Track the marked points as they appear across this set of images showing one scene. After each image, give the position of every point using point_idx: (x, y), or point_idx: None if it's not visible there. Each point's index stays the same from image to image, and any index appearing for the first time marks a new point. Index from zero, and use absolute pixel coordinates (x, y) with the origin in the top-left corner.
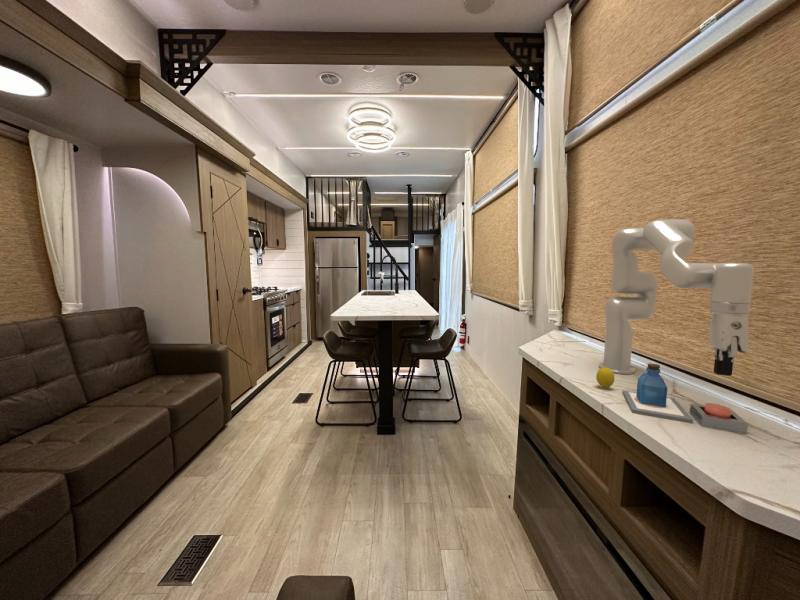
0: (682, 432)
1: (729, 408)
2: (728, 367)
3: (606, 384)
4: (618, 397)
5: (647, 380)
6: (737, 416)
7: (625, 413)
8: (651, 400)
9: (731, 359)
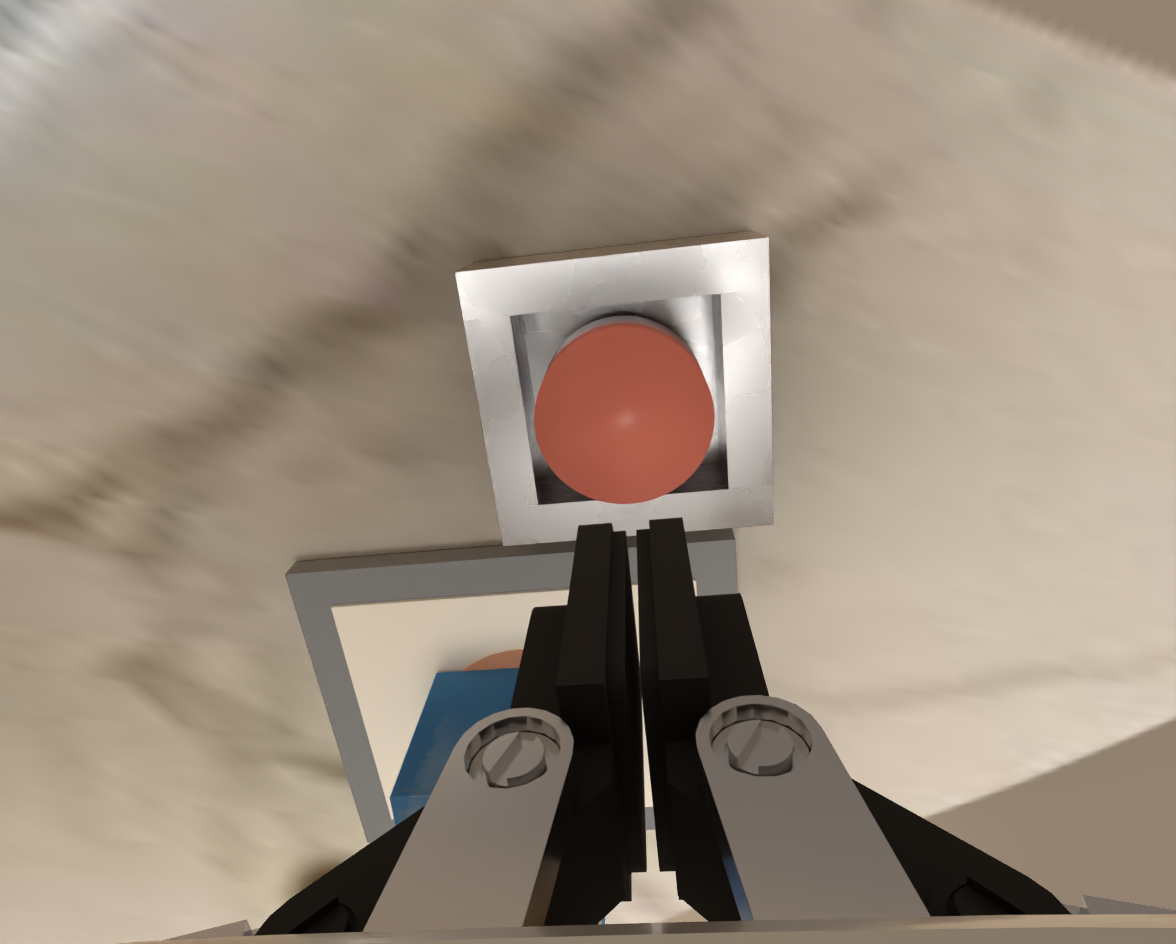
0: (932, 609)
1: (600, 337)
2: (755, 663)
3: None
4: None
5: None
6: (629, 274)
7: None
8: None
9: (888, 813)
